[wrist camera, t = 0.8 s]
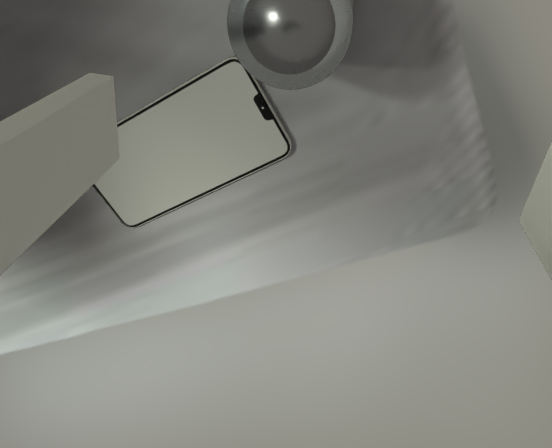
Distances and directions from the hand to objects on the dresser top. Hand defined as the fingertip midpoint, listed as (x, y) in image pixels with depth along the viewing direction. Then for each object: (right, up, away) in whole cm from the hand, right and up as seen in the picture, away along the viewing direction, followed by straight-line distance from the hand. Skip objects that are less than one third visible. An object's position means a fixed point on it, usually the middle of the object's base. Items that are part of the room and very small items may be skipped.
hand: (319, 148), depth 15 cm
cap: (0, +10, +13) cm, 17 cm away
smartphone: (-8, +3, +20) cm, 22 cm away
